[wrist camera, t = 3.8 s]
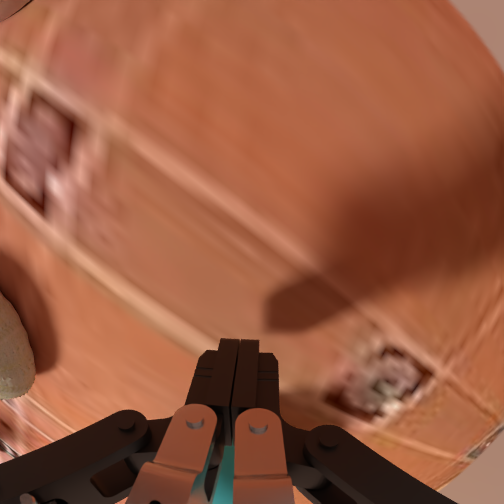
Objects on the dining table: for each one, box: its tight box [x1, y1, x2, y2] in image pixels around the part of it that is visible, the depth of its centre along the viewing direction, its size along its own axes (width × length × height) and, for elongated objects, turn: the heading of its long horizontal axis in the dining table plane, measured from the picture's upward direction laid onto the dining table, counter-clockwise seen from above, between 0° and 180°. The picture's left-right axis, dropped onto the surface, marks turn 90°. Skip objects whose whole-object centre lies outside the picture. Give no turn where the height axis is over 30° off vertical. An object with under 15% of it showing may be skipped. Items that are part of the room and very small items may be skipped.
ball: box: [212, 440, 235, 504], centre depth 13 cm, size 6×6×6 cm
